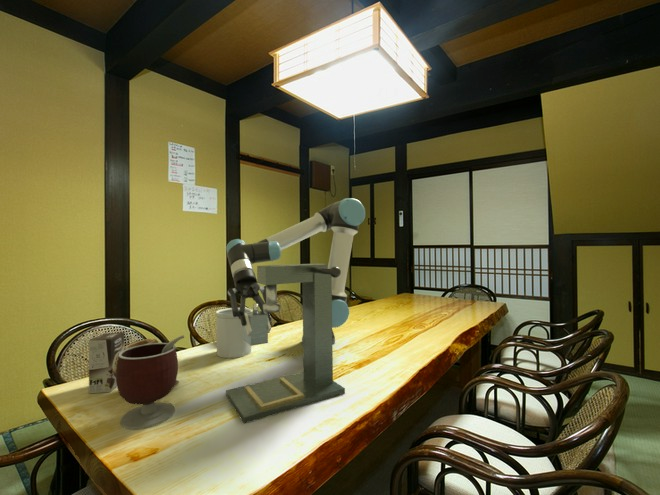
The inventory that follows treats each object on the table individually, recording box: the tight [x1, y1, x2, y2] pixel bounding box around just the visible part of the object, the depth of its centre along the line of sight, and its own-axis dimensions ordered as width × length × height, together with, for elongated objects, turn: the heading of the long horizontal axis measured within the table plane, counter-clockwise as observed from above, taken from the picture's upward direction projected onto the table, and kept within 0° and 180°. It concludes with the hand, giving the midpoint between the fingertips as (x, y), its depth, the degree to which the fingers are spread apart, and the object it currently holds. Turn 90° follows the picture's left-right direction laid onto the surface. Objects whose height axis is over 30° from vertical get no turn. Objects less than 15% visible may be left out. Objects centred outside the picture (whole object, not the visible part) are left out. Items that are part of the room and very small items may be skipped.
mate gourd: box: [116, 334, 185, 431], centre depth 83 cm, size 16×14×20 cm
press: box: [225, 263, 346, 424], centre depth 91 cm, size 30×26×38 cm
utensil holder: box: [215, 307, 253, 359], centre depth 133 cm, size 15×15×18 cm
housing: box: [244, 303, 269, 347], centre depth 102 cm, size 6×7×12 cm
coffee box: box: [88, 331, 125, 394], centre depth 101 cm, size 9×6×16 cm
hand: (259, 332), depth 99 cm, fingers closed on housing, 5 cm apart
